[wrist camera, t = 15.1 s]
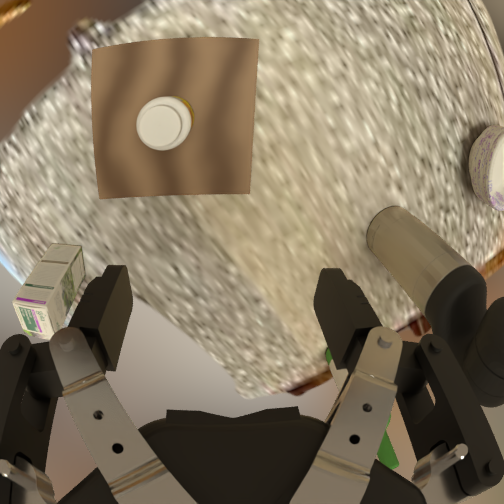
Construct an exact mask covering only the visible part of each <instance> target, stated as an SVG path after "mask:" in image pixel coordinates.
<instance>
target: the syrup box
mask: <svg viewBox="0 0 504 504" xmlns="http://www.w3.org/2000/svg"><path fill="white" fill-rule="evenodd" d="M84 277H85V269H84V263H83V256H82V248H81V246H75V245H65V244H52V245H51V246H50V247H49V249H48V250H47V251H46V253H45V254H44V256H43V257H42V258H41V260H40V261H39V263H38V264H37V265H36V267H35V268H34V270H33V271H32V273H31V274H30V275H29V277H28V278H27V280H26V281H25V283H24V284H23V286H22V287H21V289H20V290H19V292H18V294H17V295H16V297H15V298H14V300H13V302H12V303H13V306H14V308H15V311H16V313H17V316H18V318H19V321H20V323H21V326H22V328H23V330H24V333H25V334H27V335H30V336H34V337H37V338H43V339H51V337H52V336H53V334H54V333H55V332H57V331H58V330H60V329H62V326H63V324H64V321H65V319H66V317H67V314H68V312H69V310H70V307H71V305H72V303H73V301H74V299H75V296H76V294H77V292H78V290H79V288H80V286H81V284H82V282H83V280H84Z"/></svg>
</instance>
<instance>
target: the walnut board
mask: <svg viewBox="0 0 504 504" xmlns="http://www.w3.org/2000/svg"><path fill="white" fill-rule="evenodd" d="M258 48H259V39H247V38H225V37H195V38H173V39H160V40H149V41H140V42H133V43H126V44H119V45H113V46H108V47H102V48H97V49H93V50H92V75H91V103H92V129H93V144H94V156H95V166H96V175H97V183H98V191H99V198H100V199H110V198H125V197H143V196H166V195H199V194H250V180H251V163H252V146H253V129H254V112H255V96H256V79H257V64H258ZM165 96H176V97H181V98H183V99H185V100H186V101H187V102H189V104H190V105H191V106H192V108H193V111H194V123H193V126H192V128H191V130H190V132H189V134H188V136H187V137H186V139H185V140H184V141H183V142H182V143H181V144H180V145H178V146H177V147H175V148H172V149H169V150H155V149H152V148H150V147H148V146H147V145H145V144H144V143H143V142H142V140H141V139H140V137H139V135H138V133H137V128H136V122H137V117H138V115H139V112H140V111H141V109H142V108H143V107H144V106H145V105H146V104H147V103H148V102H149V101H151V100H153V99H155V98H159V97H165Z"/></svg>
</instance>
